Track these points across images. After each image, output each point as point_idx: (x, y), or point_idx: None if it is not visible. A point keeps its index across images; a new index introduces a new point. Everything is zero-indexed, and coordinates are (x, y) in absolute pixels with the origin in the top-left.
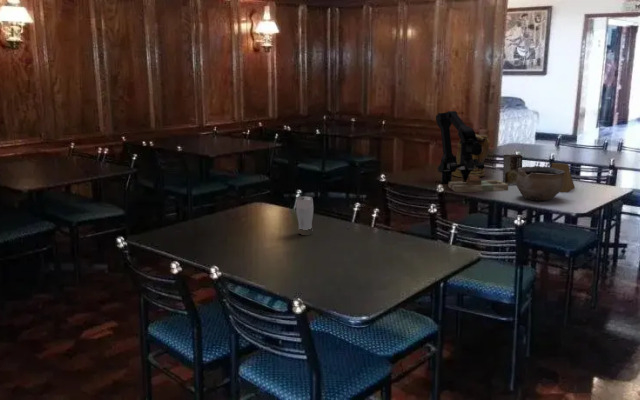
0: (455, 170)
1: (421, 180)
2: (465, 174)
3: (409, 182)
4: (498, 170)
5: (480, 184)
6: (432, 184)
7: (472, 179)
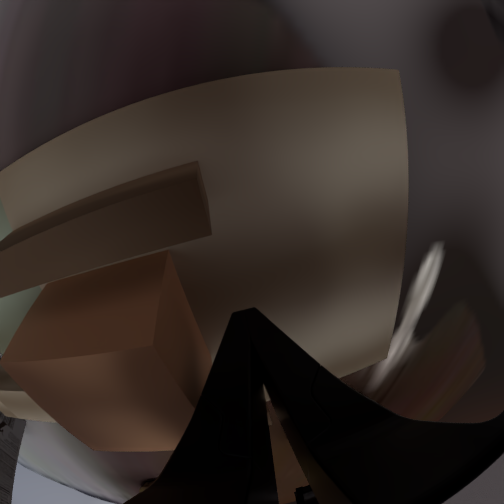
0: (298, 495)
1: (412, 406)
2: (264, 437)
3: (466, 360)
4: (119, 500)
5: (14, 232)
6: (416, 361)
7: (104, 314)
